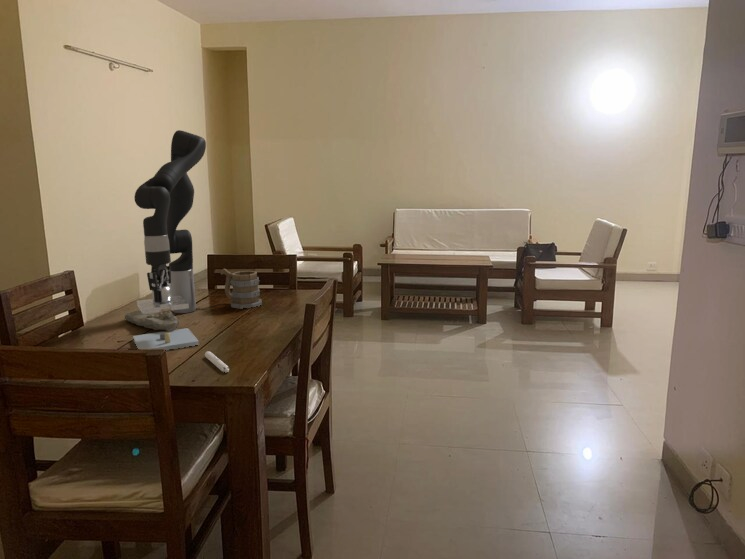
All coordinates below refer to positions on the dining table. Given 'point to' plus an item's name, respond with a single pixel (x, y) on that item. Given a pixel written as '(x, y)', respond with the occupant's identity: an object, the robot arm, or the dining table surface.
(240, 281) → the tankard
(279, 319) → the dining table surface
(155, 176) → the robot arm
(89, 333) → the dining table surface
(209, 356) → the marker
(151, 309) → the flange plate
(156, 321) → the long grey stone
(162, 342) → the base plate
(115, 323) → the dining table surface
